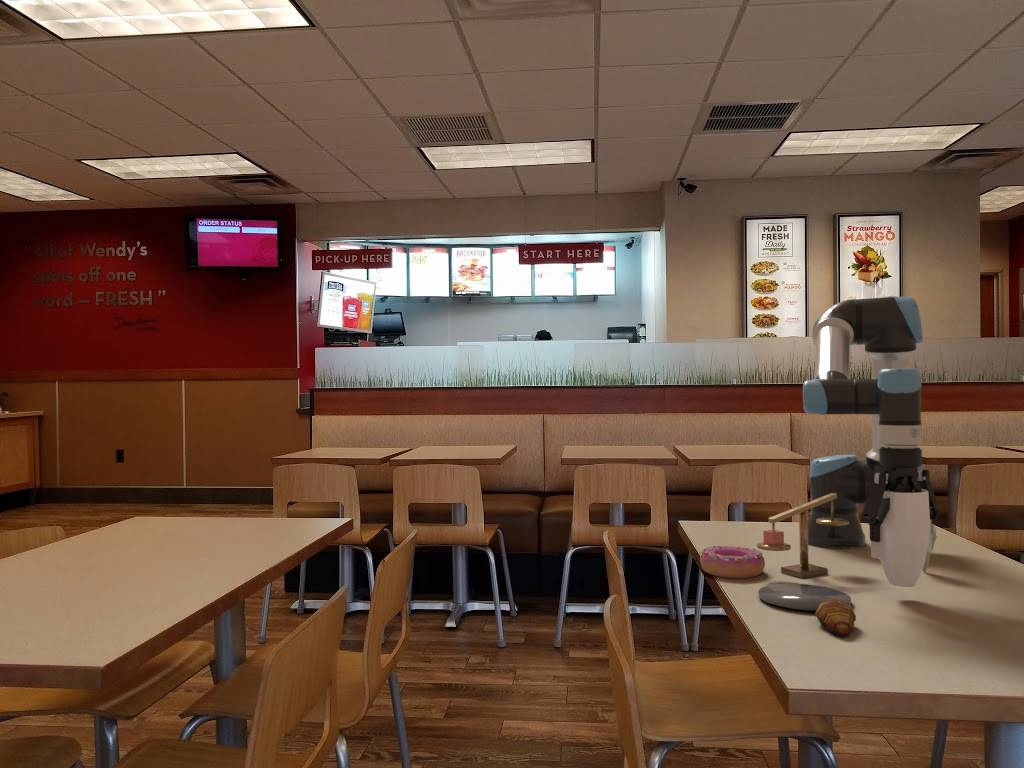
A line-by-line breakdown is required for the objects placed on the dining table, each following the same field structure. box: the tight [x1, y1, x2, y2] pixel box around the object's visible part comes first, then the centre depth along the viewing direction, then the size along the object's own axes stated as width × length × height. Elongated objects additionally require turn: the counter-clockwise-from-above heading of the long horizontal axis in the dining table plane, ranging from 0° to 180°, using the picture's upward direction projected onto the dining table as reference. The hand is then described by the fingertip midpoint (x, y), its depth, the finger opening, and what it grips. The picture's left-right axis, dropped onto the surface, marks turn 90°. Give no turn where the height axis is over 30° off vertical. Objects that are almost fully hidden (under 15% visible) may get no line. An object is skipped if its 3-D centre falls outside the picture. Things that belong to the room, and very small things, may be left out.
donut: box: [699, 545, 766, 579], centre depth 174 cm, size 14×14×5 cm
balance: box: [756, 493, 849, 579], centre depth 171 cm, size 25×7×17 cm, turn 116°
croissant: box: [814, 599, 857, 637], centre depth 134 cm, size 14×7×5 cm, turn 169°
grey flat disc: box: [757, 583, 852, 612], centre depth 150 cm, size 17×17×1 cm
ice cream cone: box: [922, 523, 938, 573], centre depth 171 cm, size 5×5×15 cm
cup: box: [877, 489, 930, 588], centre depth 150 cm, size 10×10×22 cm
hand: (901, 554), depth 150 cm, fingers open, 12 cm apart
